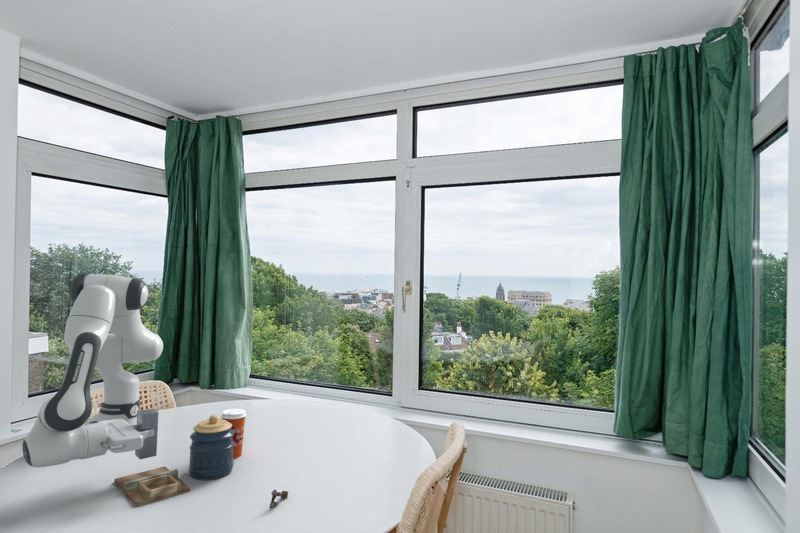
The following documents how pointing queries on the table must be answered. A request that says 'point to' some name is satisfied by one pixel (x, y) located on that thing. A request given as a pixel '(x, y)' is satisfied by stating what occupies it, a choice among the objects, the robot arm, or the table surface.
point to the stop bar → (144, 422)
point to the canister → (211, 449)
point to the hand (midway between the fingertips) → (150, 429)
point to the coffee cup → (236, 428)
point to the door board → (151, 485)
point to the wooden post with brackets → (274, 493)
